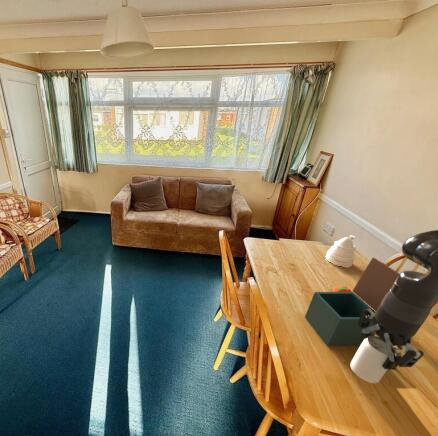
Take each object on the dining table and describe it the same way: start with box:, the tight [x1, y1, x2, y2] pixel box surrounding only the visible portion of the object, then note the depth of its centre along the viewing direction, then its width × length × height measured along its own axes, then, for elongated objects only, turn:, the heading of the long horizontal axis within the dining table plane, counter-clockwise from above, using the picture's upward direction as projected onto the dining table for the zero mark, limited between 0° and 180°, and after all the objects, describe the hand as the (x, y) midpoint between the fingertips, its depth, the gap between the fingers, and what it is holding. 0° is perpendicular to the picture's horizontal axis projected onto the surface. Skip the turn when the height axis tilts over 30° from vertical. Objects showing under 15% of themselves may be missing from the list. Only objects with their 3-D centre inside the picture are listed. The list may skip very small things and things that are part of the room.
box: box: [304, 291, 376, 347], centre depth 92 cm, size 16×14×14 cm
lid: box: [352, 257, 400, 312], centre depth 85 cm, size 17×14×1 cm
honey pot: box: [325, 234, 357, 268], centre depth 136 cm, size 13×13×18 cm
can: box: [349, 335, 389, 384], centre depth 64 cm, size 6×6×12 cm
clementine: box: [333, 285, 353, 292], centre depth 110 cm, size 8×7×7 cm
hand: (374, 354), depth 63 cm, fingers closed on can, 6 cm apart
